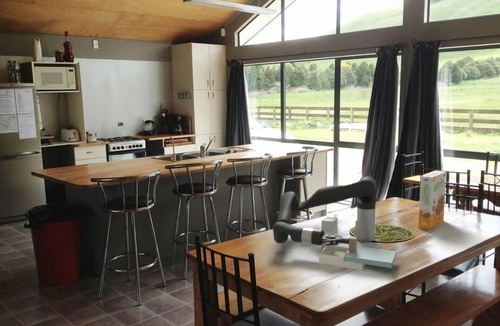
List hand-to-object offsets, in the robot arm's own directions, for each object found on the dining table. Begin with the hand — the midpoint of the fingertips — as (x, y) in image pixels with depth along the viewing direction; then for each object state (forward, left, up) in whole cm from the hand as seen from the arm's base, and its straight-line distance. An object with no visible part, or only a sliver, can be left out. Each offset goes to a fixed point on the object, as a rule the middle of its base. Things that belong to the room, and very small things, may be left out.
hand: (349, 241), depth 207 cm
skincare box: (-20, +7, -10) cm, 23 cm away
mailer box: (-2, -1, -10) cm, 10 cm away
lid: (+8, +5, -7) cm, 12 cm away
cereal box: (-14, +82, -10) cm, 84 cm away
